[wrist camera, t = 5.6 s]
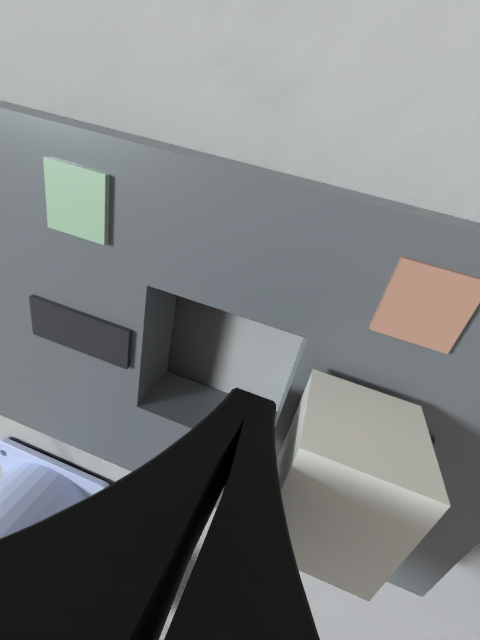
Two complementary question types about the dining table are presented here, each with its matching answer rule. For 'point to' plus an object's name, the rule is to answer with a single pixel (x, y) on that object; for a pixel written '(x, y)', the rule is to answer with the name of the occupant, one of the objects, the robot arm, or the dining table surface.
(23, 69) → the dining table surface
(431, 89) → the dining table surface
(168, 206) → the breaker panel
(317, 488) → the lever
